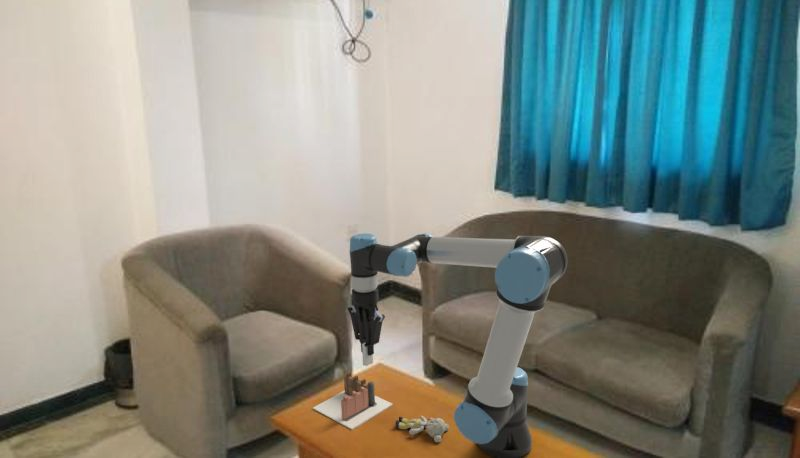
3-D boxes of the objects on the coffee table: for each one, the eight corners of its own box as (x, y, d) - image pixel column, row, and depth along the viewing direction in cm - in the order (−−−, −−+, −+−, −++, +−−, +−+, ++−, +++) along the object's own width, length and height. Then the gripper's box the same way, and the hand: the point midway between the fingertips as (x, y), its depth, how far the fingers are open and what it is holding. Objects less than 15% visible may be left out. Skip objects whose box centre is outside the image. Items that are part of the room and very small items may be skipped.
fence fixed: (376, 405, 188) (375, 383, 186) (371, 407, 187) (371, 385, 185) (348, 391, 197) (347, 370, 195) (343, 394, 195) (342, 372, 193)
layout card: (392, 404, 188) (392, 403, 188) (352, 429, 175) (352, 428, 175) (353, 386, 200) (353, 385, 200) (312, 408, 187) (312, 407, 187)
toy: (403, 406, 181) (448, 411, 174) (405, 422, 182) (450, 428, 175) (390, 421, 173) (438, 427, 166) (392, 438, 174) (440, 445, 167)
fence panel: (365, 405, 187) (364, 385, 185) (368, 406, 186) (367, 386, 184) (341, 418, 180) (340, 397, 179) (344, 419, 179) (343, 399, 178)
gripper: (390, 289, 166) (392, 365, 171) (358, 279, 174) (361, 353, 180) (372, 296, 160) (375, 375, 166) (339, 286, 169) (343, 361, 174)
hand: (367, 363), depth 173 cm, fingers closed
